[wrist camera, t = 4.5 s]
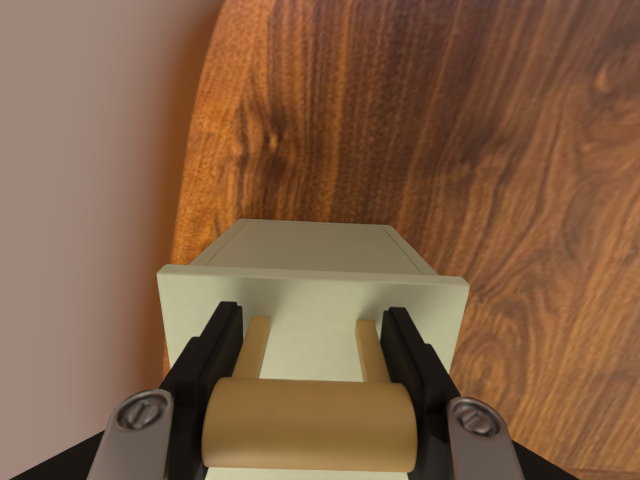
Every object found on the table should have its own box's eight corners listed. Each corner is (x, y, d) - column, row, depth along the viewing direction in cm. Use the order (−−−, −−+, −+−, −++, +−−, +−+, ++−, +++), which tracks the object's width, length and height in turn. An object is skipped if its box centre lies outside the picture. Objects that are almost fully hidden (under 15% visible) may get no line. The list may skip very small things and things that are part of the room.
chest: (239, 218, 23) (178, 272, 13) (390, 224, 24) (448, 283, 13) (243, 368, 27) (198, 502, 17) (373, 372, 28) (407, 507, 17)
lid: (165, 263, 12) (29, 385, 6) (461, 275, 12) (585, 403, 7) (197, 503, 17) (137, 692, 11) (408, 508, 17) (452, 695, 12)
